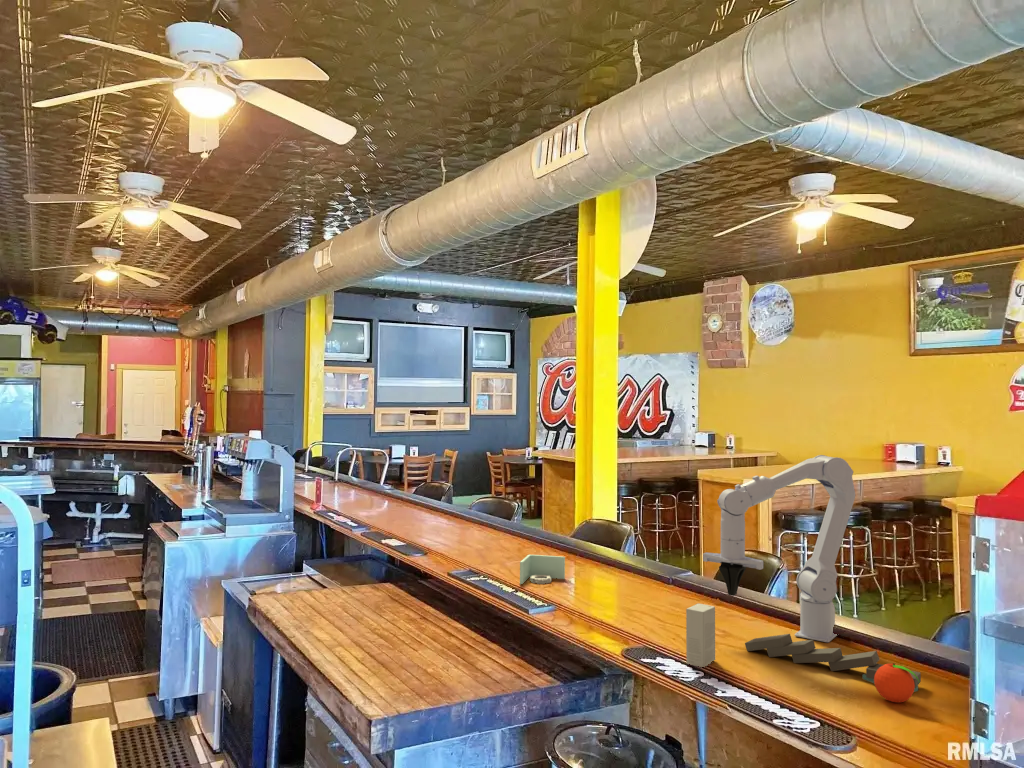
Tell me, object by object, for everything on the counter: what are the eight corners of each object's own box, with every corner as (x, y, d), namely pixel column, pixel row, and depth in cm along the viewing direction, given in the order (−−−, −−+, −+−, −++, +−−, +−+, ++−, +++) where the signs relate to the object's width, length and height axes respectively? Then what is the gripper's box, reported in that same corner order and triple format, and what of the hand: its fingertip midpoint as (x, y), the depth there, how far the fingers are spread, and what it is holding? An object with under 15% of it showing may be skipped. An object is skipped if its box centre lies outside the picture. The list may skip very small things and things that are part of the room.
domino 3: (791, 654, 163) (831, 653, 157) (800, 649, 166) (840, 647, 160) (793, 662, 162) (834, 662, 156) (803, 657, 166) (842, 656, 160)
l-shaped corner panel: (519, 586, 230) (520, 561, 230) (528, 577, 242) (528, 554, 242) (557, 589, 227) (558, 564, 227) (564, 580, 239) (564, 556, 239)
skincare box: (697, 656, 166) (697, 602, 166) (715, 661, 163) (716, 606, 163) (685, 663, 161) (685, 608, 161) (703, 668, 158) (704, 612, 159)
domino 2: (766, 648, 166) (804, 644, 161) (775, 644, 170) (813, 639, 164) (768, 657, 166) (806, 653, 160) (778, 652, 169) (815, 647, 164)
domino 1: (744, 643, 170) (780, 638, 164) (754, 638, 174) (789, 633, 168) (747, 651, 170) (783, 646, 164) (757, 646, 173) (792, 641, 167)
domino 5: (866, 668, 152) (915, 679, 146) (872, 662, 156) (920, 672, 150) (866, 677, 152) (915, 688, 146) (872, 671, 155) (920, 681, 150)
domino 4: (828, 662, 158) (871, 656, 153) (834, 657, 162) (876, 650, 157) (831, 671, 157) (874, 665, 152) (837, 665, 161) (879, 659, 156)
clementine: (925, 702, 142) (925, 664, 142) (915, 713, 136) (915, 674, 137) (880, 691, 147) (880, 655, 147) (869, 701, 142) (869, 663, 142)
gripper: (698, 537, 183) (697, 592, 183) (756, 544, 174) (755, 603, 174) (709, 533, 189) (709, 587, 188) (766, 540, 180) (766, 597, 180)
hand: (732, 594), depth 182 cm, fingers closed
